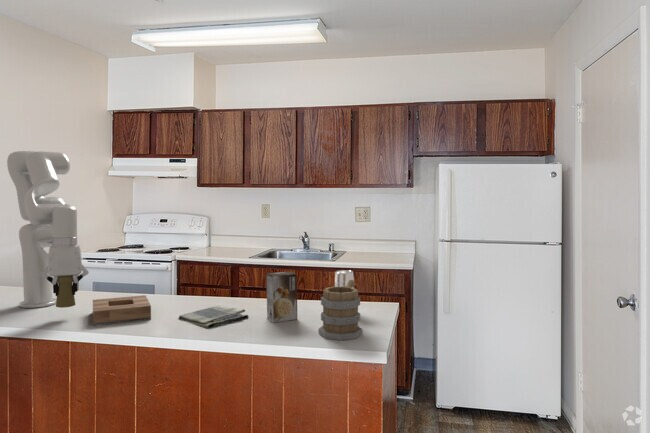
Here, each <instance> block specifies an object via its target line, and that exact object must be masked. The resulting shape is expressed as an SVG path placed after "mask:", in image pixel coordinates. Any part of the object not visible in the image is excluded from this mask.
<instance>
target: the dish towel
mask: <svg viewBox="0 0 650 433" xmlns="http://www.w3.org/2000/svg"><path fill="white" fill-rule="evenodd" d="M245 312H246V309H244V308H237V307H231V306H224V305H214V306H210V307H206V308H203V309H199V310H195V311H194V310H193V311H191V312H188V313H184V314H180V315H178V320H182V321H183V322H184V321H185V322H187V323H189V324H192V325H194V326H195V325H196V326H199V327H202V328H205V329H209V328H215V327H219V326H222V325H223V326H224V325H227V324H232V323H234V322H239V321H242V320H245V319H249V315H248V314H244V313H245ZM242 313H243V314H242Z"/></svg>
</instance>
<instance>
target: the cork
mask: <svg viewBox="0 0 650 433" xmlns="http://www.w3.org/2000/svg"><path fill="white" fill-rule="evenodd" d="M73 281H74V280H73V276H72V275H71V276H58V278H57V283H58V296H56V299H57V300H56V303H55V307H56V308H71V307H73V306H74V307H75V306H76V299H75V295H73Z"/></svg>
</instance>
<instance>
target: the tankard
mask: <svg viewBox="0 0 650 433" xmlns="http://www.w3.org/2000/svg"><path fill="white" fill-rule="evenodd" d="M355 286H356V283H355V280H354V281H353V280H349V282H348V284H347V285H346V287H343V286H341V287H340V286H337V287H335V286H329V287H326V288H323V289H322V290H323V293H322V294H323V295H322V296H321V297H320V305H321V306H322V308H323V309H322V312H321V313H320V320H321V321H322V326H320V327H318V334H319V335H320V336H322V337H323V338H325V339H327V340H336V341H347V340H356V339H357V338H358V337H360V336H361V335H362V334H363V328H362V327H360V326H359V322H360V321H361V313H360V312H359V306H360V305H361V298H360V296H359V289H357V288H355ZM353 287H354V288H353Z"/></svg>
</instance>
